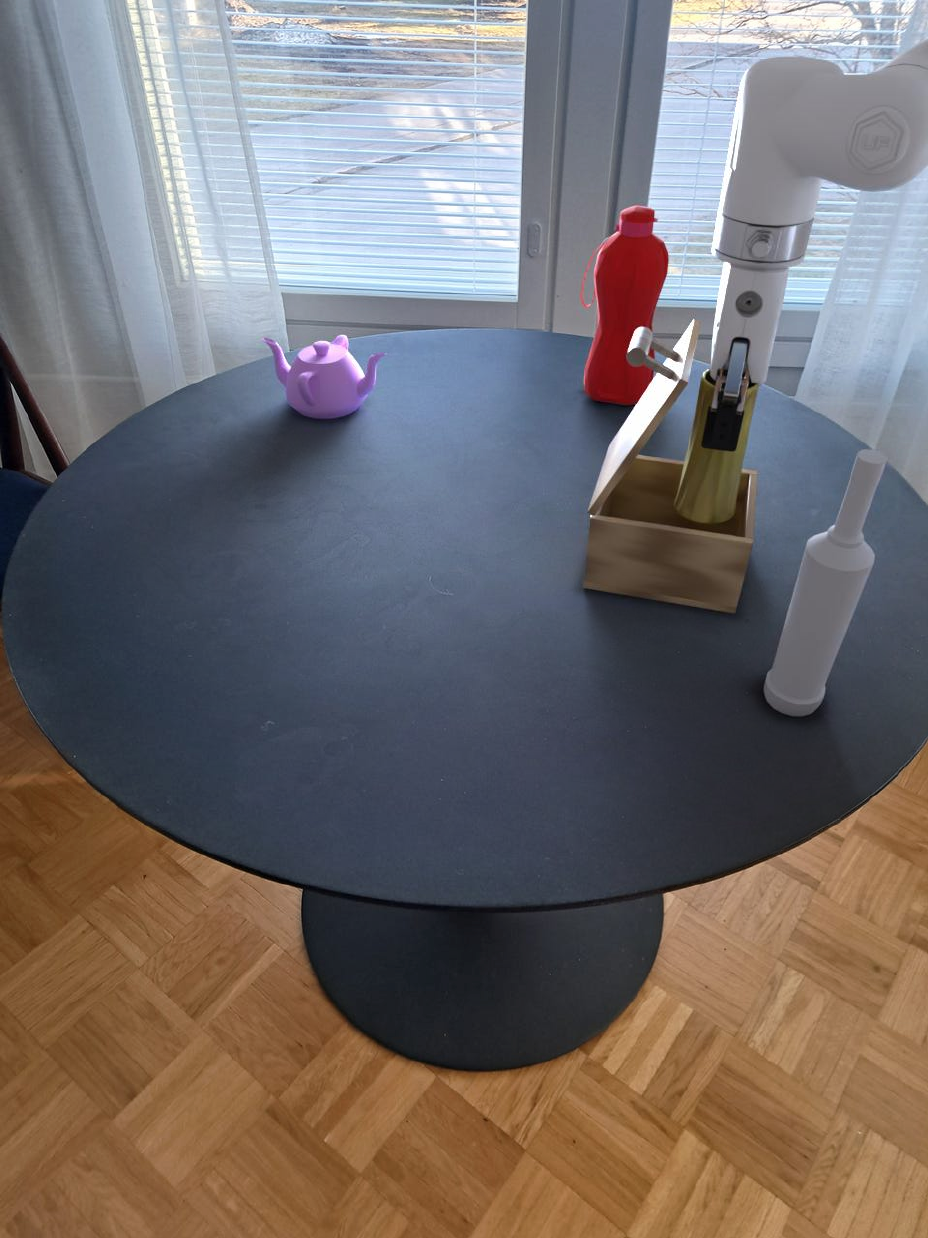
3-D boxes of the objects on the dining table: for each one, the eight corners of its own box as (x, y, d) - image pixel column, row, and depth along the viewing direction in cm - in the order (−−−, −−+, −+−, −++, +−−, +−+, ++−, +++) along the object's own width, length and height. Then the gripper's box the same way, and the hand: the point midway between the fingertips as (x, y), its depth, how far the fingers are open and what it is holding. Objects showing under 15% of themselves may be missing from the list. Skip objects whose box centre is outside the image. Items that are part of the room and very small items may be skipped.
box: (741, 538, 98) (757, 470, 92) (735, 613, 88) (753, 543, 83) (603, 517, 102) (611, 451, 96) (582, 587, 92) (590, 518, 86)
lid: (701, 322, 84) (653, 294, 84) (688, 382, 74) (633, 351, 74) (615, 449, 96) (572, 425, 95) (594, 516, 86) (546, 489, 85)
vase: (679, 487, 92) (702, 359, 83) (738, 499, 91) (768, 369, 81) (668, 518, 88) (691, 386, 79) (730, 530, 86) (760, 397, 77)
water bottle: (581, 373, 131) (596, 193, 114) (654, 383, 128) (681, 201, 111) (566, 400, 124) (579, 214, 108) (642, 412, 121) (668, 222, 105)
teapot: (271, 395, 126) (261, 335, 120) (362, 376, 130) (356, 318, 125) (295, 431, 118) (285, 369, 112) (390, 410, 122) (386, 349, 116)
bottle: (804, 674, 82) (886, 435, 65) (831, 714, 78) (925, 471, 61) (752, 681, 81) (821, 442, 65) (776, 722, 77) (857, 478, 61)
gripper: (809, 275, 65) (757, 484, 77) (807, 209, 77) (763, 398, 89) (706, 266, 66) (671, 472, 78) (721, 203, 79) (688, 389, 91)
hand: (720, 431), depth 84 cm, fingers closed on vase, 5 cm apart
